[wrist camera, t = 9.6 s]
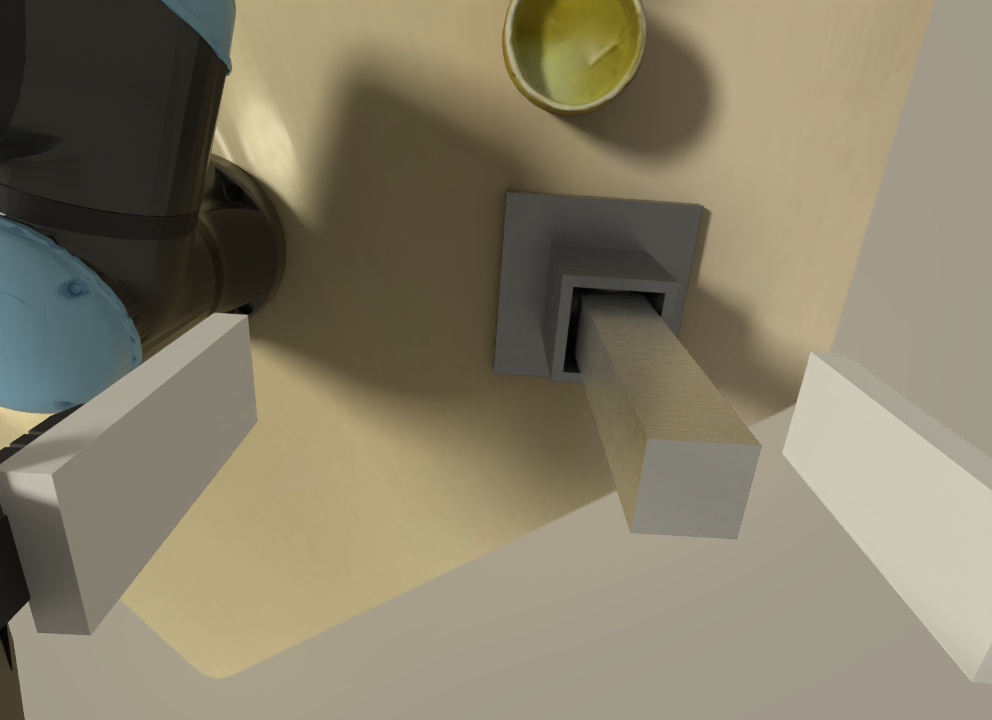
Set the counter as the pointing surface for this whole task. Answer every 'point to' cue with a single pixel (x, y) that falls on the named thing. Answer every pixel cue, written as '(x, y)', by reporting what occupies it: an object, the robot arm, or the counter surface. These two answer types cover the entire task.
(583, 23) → the mug
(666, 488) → the column
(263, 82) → the counter surface
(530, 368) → the stand
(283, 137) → the counter surface
